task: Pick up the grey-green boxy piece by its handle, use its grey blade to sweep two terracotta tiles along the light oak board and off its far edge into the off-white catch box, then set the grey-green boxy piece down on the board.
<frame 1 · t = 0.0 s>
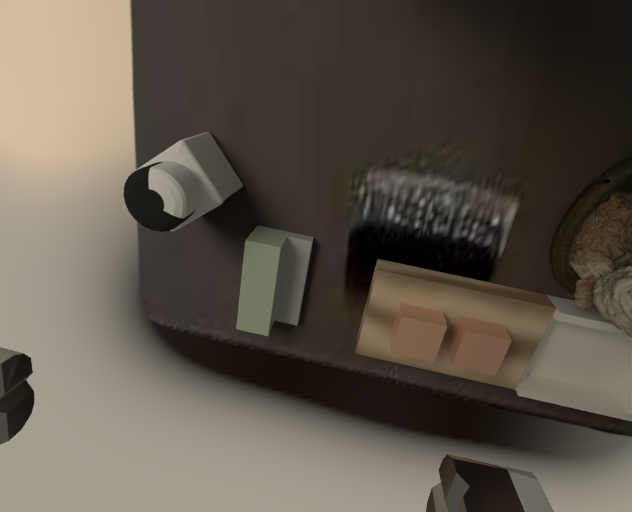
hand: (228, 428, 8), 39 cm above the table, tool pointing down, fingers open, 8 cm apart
tile b: (474, 337, 47), point 3 cm above the table, touching board
catch box: (583, 348, 49), on the table
medicine bottle: (204, 173, 47), on the table
tile a: (415, 324, 47), point 3 cm above the table, touching board
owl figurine: (621, 221, 43), on the table
board: (445, 318, 50), on the table
grey-green boxy piece: (267, 271, 51), on the table
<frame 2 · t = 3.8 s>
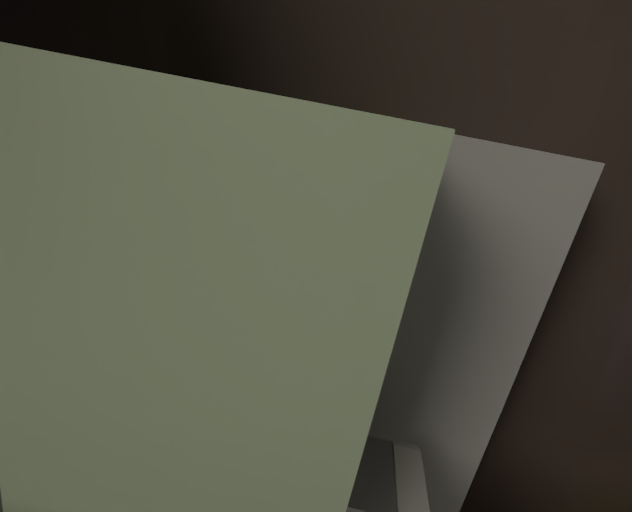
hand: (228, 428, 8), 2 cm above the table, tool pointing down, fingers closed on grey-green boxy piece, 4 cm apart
grey-green boxy piece: (258, 364, 10), on the table, touching gripper
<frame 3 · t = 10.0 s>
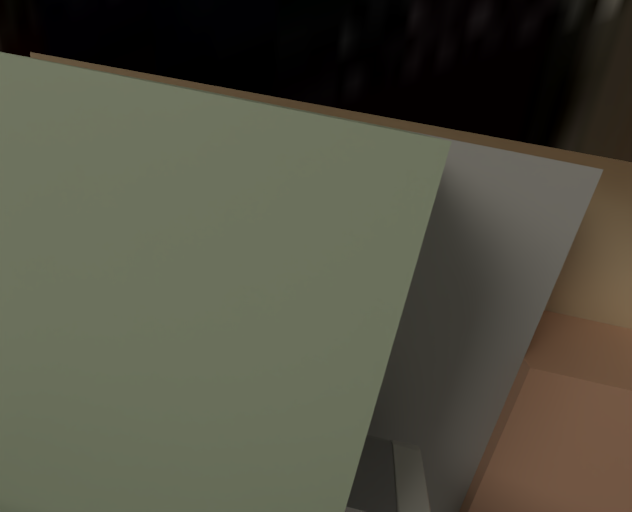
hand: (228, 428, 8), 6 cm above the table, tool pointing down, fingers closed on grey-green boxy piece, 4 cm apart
tile a: (547, 403, 10), point 3 cm above the table, touching grey-green boxy piece, tile b
board: (391, 314, 13), on the table
grey-green boxy piece: (256, 367, 10), point 4 cm above the table, touching gripper, tile a
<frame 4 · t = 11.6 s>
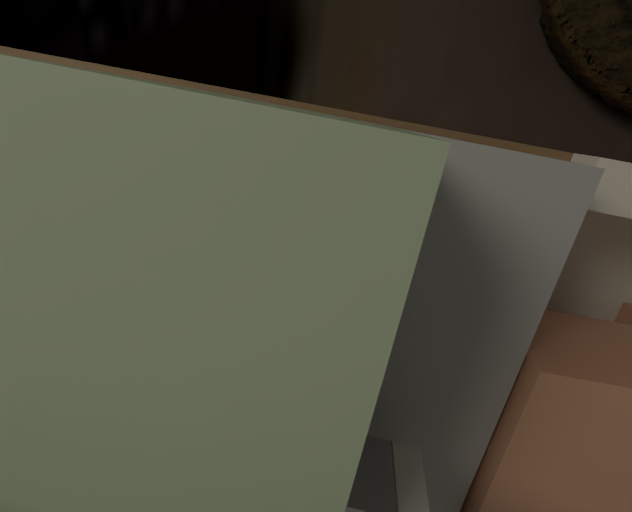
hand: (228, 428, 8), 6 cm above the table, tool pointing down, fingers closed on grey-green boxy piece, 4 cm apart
tile a: (542, 398, 11), point 3 cm above the table, touching grey-green boxy piece, tile b
board: (172, 267, 14), on the table
grey-green boxy piece: (257, 367, 10), point 4 cm above the table, touching gripper, tile a
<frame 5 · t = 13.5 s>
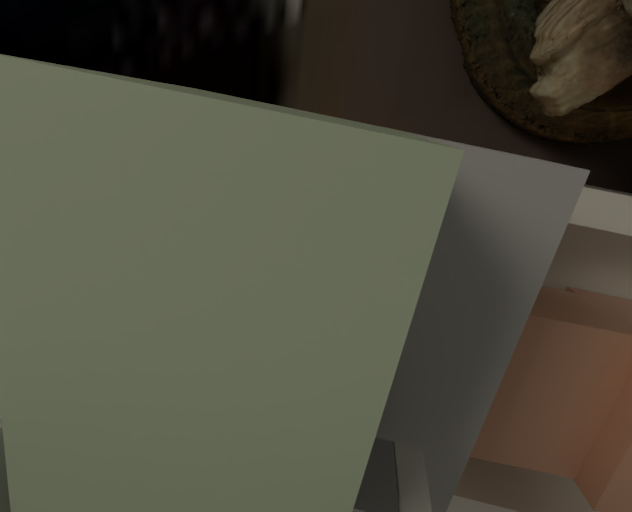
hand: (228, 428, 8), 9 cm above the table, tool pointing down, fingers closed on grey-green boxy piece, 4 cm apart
tile b: (578, 384, 13), point 3 cm above the table, tilted 94°, touching catch box, tile a
catch box: (586, 344, 16), on the table
tile a: (488, 343, 14), point 2 cm above the table, touching catch box, tile b
grey-green boxy piece: (253, 363, 10), point 7 cm above the table, touching gripper
when the fingers open (7 cm above the table, at t = 16.4 s): grey-green boxy piece drops 1 cm, resting on board.
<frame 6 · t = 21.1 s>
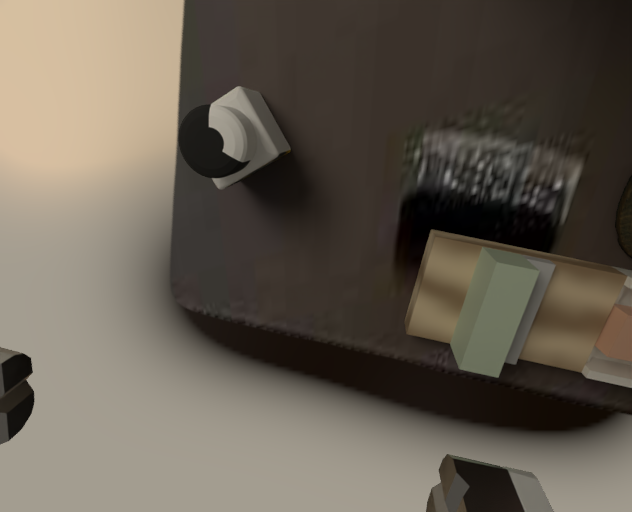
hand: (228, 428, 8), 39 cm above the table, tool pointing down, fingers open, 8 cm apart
medicine bottle: (249, 137, 45), on the table
tile a: (621, 326, 44), point 2 cm above the table, touching catch box, tile b
board: (502, 295, 47), on the table
grey-green boxy piece: (483, 301, 44), point 3 cm above the table, touching board
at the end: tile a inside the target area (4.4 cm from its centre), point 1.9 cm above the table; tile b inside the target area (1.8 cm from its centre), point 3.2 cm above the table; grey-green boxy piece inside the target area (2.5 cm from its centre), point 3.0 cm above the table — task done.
